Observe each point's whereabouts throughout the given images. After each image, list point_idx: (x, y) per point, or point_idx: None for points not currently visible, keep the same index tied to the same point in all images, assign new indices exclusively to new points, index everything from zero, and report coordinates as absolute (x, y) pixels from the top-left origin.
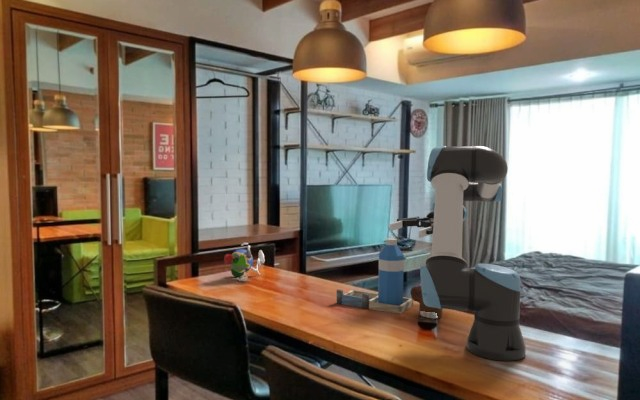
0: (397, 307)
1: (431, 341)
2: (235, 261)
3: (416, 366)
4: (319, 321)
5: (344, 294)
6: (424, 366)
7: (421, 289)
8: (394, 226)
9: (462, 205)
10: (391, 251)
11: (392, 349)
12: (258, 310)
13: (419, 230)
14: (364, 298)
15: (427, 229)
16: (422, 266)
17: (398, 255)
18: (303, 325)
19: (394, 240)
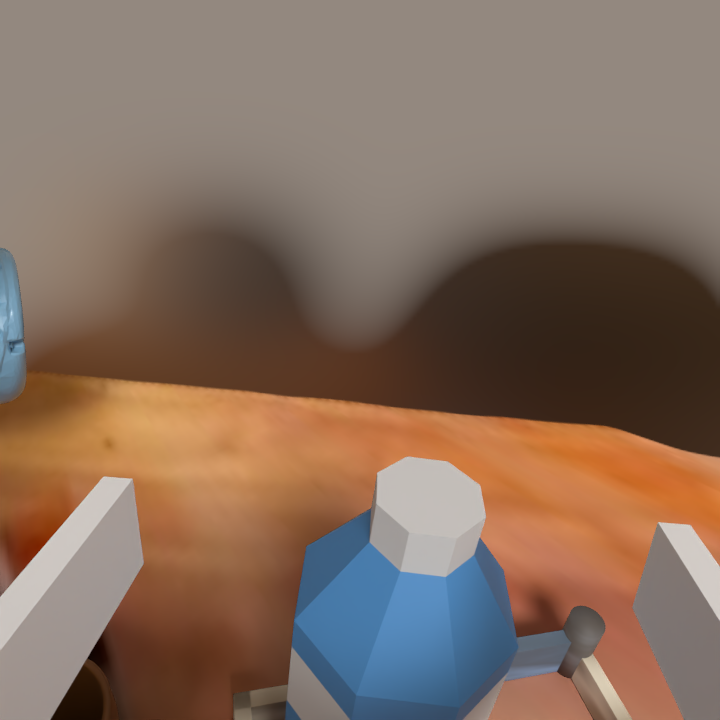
0: (252, 694)
1: (15, 507)
2: None
3: (38, 382)
4: None
5: (609, 696)
6: None
7: (98, 667)
8: (678, 625)
9: None
10: (361, 514)
11: (121, 418)
12: (607, 443)
13: (123, 481)
14: None
15: (2, 615)
16: (2, 250)
17: (307, 554)
18: (414, 426)
19: (376, 478)
